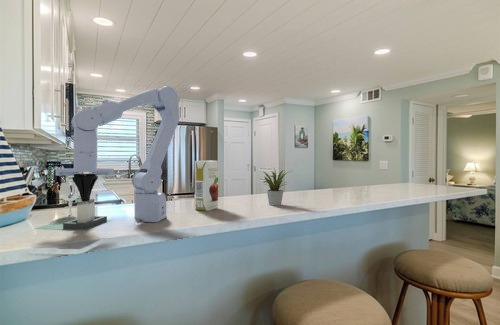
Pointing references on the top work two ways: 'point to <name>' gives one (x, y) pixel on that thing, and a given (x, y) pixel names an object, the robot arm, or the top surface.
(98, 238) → the top surface
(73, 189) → the wineglass
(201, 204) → the juice carton
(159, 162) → the robot arm
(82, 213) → the plug
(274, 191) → the house plant
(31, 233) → the top surface
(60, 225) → the circuit board
